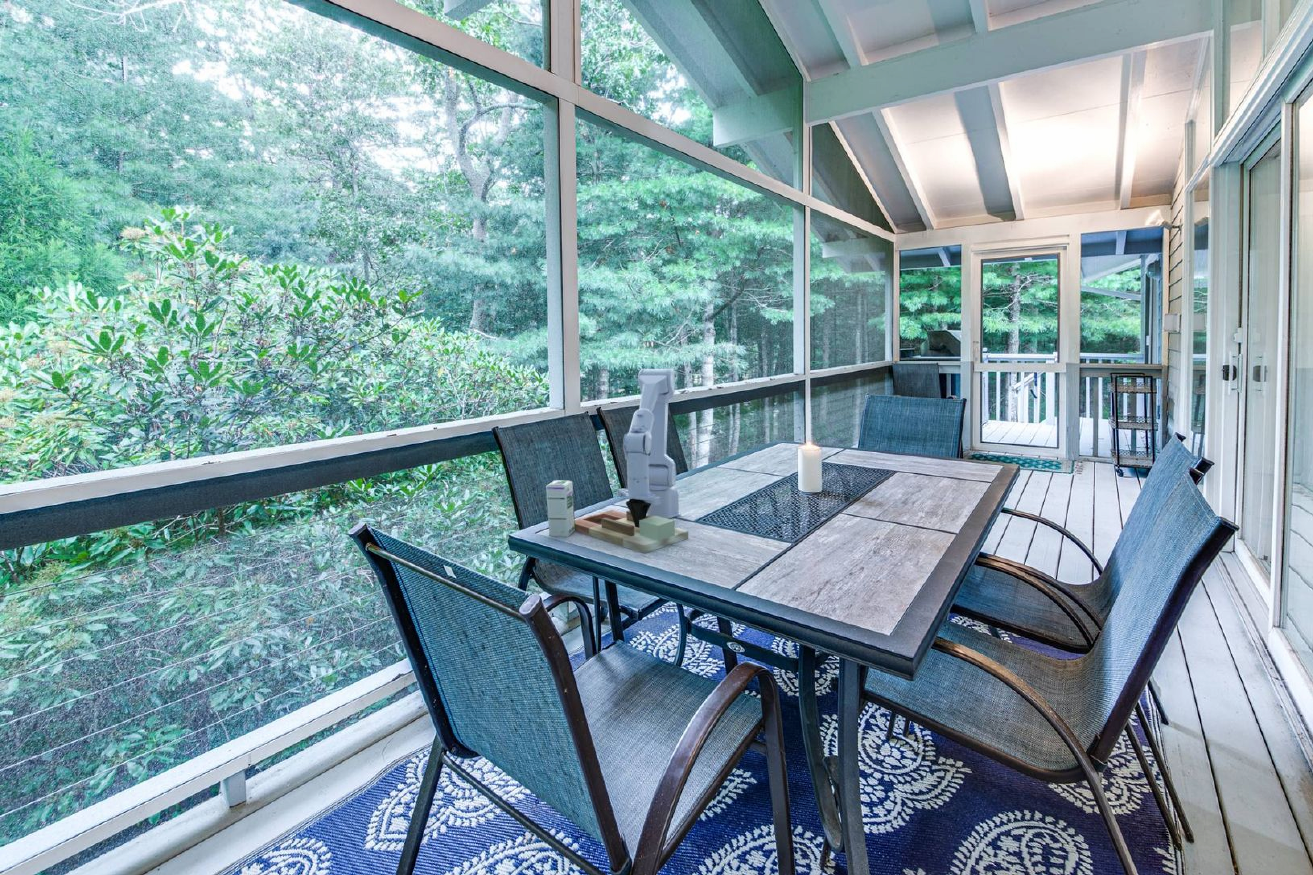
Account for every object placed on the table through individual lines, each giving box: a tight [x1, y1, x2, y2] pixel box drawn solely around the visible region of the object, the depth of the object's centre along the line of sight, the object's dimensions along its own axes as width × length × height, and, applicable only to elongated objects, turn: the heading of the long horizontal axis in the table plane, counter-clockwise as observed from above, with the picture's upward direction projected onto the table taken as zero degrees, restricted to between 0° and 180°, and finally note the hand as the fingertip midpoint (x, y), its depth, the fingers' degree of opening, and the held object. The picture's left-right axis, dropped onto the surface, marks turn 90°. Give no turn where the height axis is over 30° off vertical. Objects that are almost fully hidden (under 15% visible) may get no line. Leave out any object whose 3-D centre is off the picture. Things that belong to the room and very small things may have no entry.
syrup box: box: [545, 479, 576, 537], centre depth 172 cm, size 6×6×14 cm
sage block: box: [639, 516, 676, 541], centre depth 163 cm, size 6×7×4 cm
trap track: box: [574, 509, 689, 554], centre depth 172 cm, size 16×31×4 cm, turn 44°
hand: (639, 526), depth 168 cm, fingers closed
